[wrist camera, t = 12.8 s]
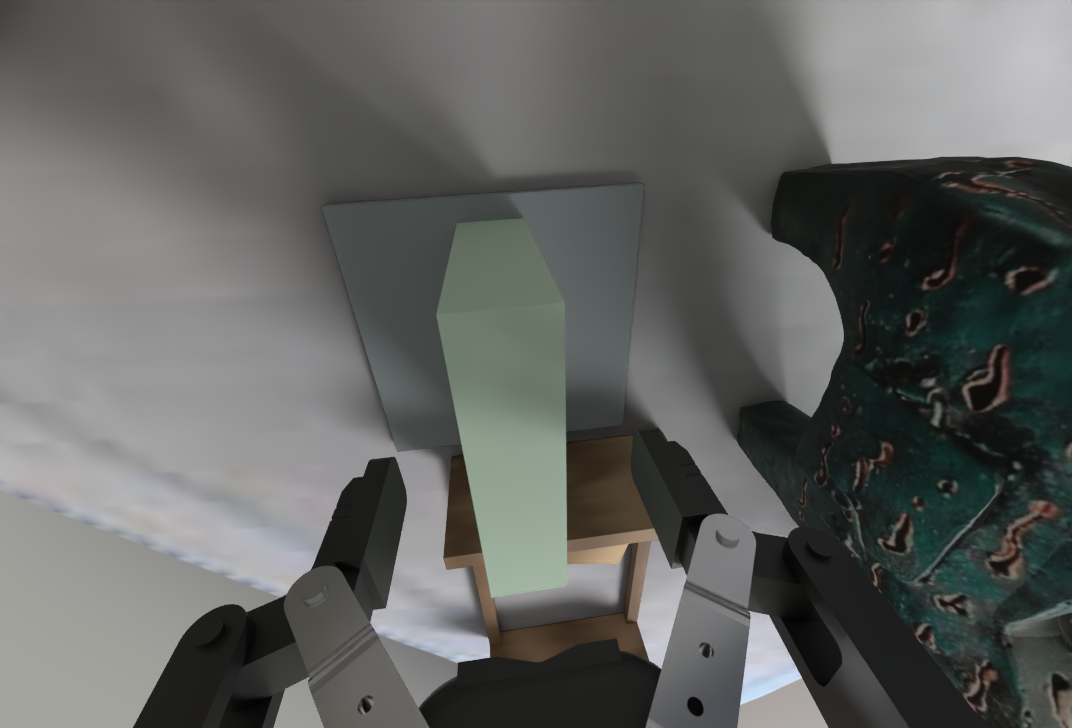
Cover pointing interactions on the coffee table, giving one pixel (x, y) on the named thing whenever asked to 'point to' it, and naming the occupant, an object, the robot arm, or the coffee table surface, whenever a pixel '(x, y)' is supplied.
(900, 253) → the green animal sculpture
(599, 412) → the rubber mat
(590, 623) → the walnut rack
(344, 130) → the coffee table surface
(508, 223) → the pale green block
